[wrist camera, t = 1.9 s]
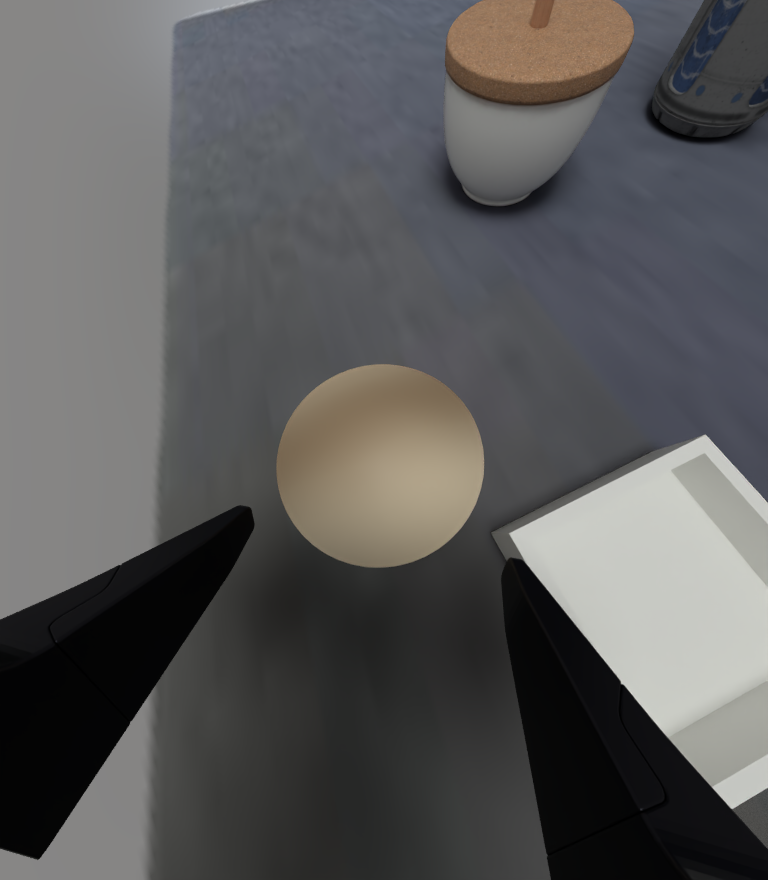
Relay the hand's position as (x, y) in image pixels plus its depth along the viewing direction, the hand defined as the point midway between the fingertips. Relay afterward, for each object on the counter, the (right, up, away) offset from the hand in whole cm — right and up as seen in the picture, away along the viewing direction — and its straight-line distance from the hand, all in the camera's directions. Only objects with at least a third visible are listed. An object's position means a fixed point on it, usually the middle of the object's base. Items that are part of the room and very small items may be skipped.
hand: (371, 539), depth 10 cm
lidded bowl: (+12, +29, +19) cm, 37 cm away
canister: (+1, -1, +10) cm, 10 cm away
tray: (+16, -5, +7) cm, 18 cm away
